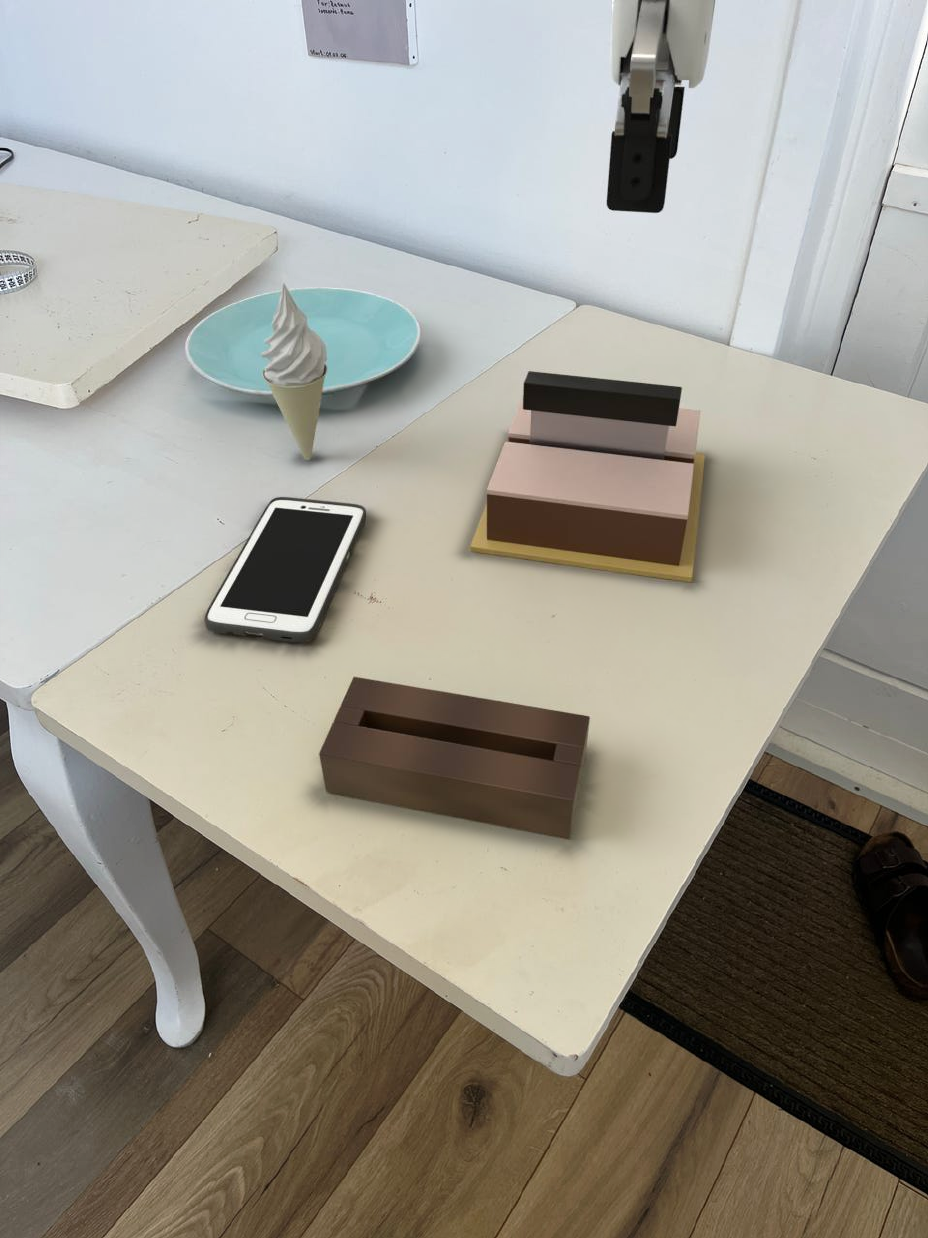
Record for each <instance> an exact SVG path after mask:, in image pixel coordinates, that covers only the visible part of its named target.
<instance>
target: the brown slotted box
mask: <svg viewBox="0 0 928 1238" xmlns="http://www.w3.org/2000/svg"><path fill="white" fill-rule="evenodd" d="M590 721H591V717H590V716H589V715H586V714H585V715H584V714H580V713H579V714H578V713H572V712H566V711H561V710H555V709H549V708H543V707H537V706H531V705H525V704H519V703H514V702H509V701H508V702H507V701H502V700H495V699H490V698H485V697H479V696H472V695H465V694H462V693H461V694H460V693H454V692H448V691H443V690H436V689H430V688H425V687H420V686H419V687H418V686H413V685H407V684H400V683H395V682H389V681H383V680H377V679H371V678H365V677H359V676H353V677H352V679H351V682H350V684H349V686H348V687H347V690H346V693H345V695H344V697H343V699H342V702H341V704H340V706H339V708H338V710H337V712H336V714H335V717H334V719H333V722H332V723H331V726H330V728H329V730H328V732H327V734H326V737H325V739H324V742H323V744H322V746H321V748H320V750H319V752H318V756H319V761H320V768H321V773H322V777H323V783H324V788H325V792H326V794H327V793H328V794H333V795H337V796H343V797H348V798H353V799H359V800H363V801H364V800H365V801H369V802H375V803H380V804H384V805H385V804H386V805H390V806H395V807H399V808H405V809H411V810H416V811H421V812H426V813H432V814H437V815H441V816H447V817H452V818H457V819H462V820H467V821H473V822H477V823H483V824H487V825H488V824H489V825H494V826H497V827H498V826H499V827H503V828H504V827H505V828H510V829H514V830H518V831H519V830H520V831H524V832H529V833H535V834H540V835H545V836H551V837H556V838H559V839H560V838H561V839H566V840H570V839H571V836H572V830H573V825H574V820H575V814H576V810H577V804H578V800H579V799H578V798H579V793H580V788H581V782H582V776H583V772H584V766H585V761H586V757H587V747H588V739H589V730H590V723H591V722H590Z"/></svg>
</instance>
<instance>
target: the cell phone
mask: <svg viewBox="0 0 928 1238" xmlns="http://www.w3.org/2000/svg"><path fill="white" fill-rule="evenodd" d="M366 520H367V511H366V508H365V506H363V505H361V504H357V503H350V502H341V501H331V500H320V499H311V498H300V497H292V496H277V497H273V498H272V499H271V500H270V501H268V504H267V505H266V506H265V508H264V510H263V511H262V513H261V515H260V517H259V519H258V520H257V522H256V524H255V525H254V527H253V529H252V531H251V532H250V534H249V536H248V538H247V540H246V541H245V543H244V545H243V546H242V547H241V550H240V552H239V553H238V554H237V557H236V559H235V560H234V562H233V564H232V565H231V568H230V569H229V570H228V573H227V574H226V576H225V578H224V580H223V581H222V583H221V585H220V587H219V588H218V590H217V592H216V593H215V595H214V597H213V599H212V601H211V602H210V604H209V606H208V607H207V610H206V612H205V615H204V618H203V620H204V625H205V628H206V629H207V630H209V631H211V632H213V633H218V634H226V635H228V634H233V635H234V636H243V637H247V636H248V635H249V636H256V637H263V639H266V640H272V641H273V640H274V641H281V642H290V643H307V642H310V641H312V640H313V639H314V638H315V636H316V634H317V633H318V631H319V630H320V627H321V625H322V622H323V621H324V619H325V615H326V613H327V610H328V608H329V606H330V604H331V602H332V600H333V597H334V595H335V592H336V590H337V588H338V585H339V583H340V581H341V579H342V577H343V574H344V572H345V570H346V567H347V565H348V560H349V557H350V556H351V555H352V554H353V551H354V550H355V547H356V544H357V542H358V540H359V537H360V535H361V533H362V530H363V528H364V526H365V524H366Z"/></svg>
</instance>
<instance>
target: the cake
mask: <svg viewBox="0 0 928 1238" xmlns="http://www.w3.org/2000/svg"><path fill="white" fill-rule="evenodd" d="M700 417H701V410H699V409H691V408H690V409H689V408H680V407H679V411H678V418H677V424H676V426H669V429H668V436H667V442H666V449H665V455H664V460H658V459H649V458H641V457H632V456H624V455H615V454H607V453H598V452H590V451H581V450H573V449H564V448H556V447H547V446H539V445H530V427H531V410H523V396H522V397H521V399H520V402H519V405H518V407H517V410H516V413H515V415H514V418H513V420H512V423H511V425H510V427H509V431H508V433H507V434H508V439H507V440H508V441H504V444H503V446H502V449H501V451H500V454H499V456H498V459H497V461H496V464H495V467H494V469H493V472H492V474H491V477H490V480H489V483H488V485H487V488H486V504H485V506H484V510H483V512H482V515H481V518H480V520H479V522H478V525H477V528H476V530H475V533H474V535H473V538H472V541H471V543H470V549H469V551H470V552H471V553H478V554H479V553H480V554H486V555H493V556H501V557H507V558H515V559H521V560H527V561H528V560H529V561H534V562H535V561H536V562H543V563H549V564H556V565H557V564H558V565H564V566H571V567H572V566H573V567H579V568H586V569H593V570H600V571H608V572H613V573H622V574H628V575H635V576H643V577H651V578H657V579H664V580H670V581H671V580H672V581H678V582H685V583H692V581H693V577H694V576H693V574H694V564H695V556H696V546H697V537H698V526H699V517H700V507H701V496H702V486H703V478H704V467H705V459H706V454H705V453H699V452H696V451H697V443H698V435H699V426H700Z"/></svg>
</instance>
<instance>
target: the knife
mask: <svg viewBox="0 0 928 1238" xmlns="http://www.w3.org/2000/svg"><path fill="white" fill-rule="evenodd" d="M522 388H523V390H522V391H523V392H522V397H523V410H531V427H530V445H539V446H547V447H556V448H564V449H573V450H581V451H590V452H598V453H607V454H615V455H624V456H632V457H641V458H649V459H658V460H664V455H665V449H666V442H667V436H668V429H669V426H676V424H677V418H678V411H679V408H680V404H681V398H682V391H683V387H682V386H678V385H677V386H676V385H667V384H657V383H647V382H638V381H628V380H619V379H610V378H599V377H589V376H580V375H570V374H563V373H561V374H560V373H551V372H543V371H542V372H541V371H532V370H528V371H527V374H526V376H525V379H524V381H523V386H522Z"/></svg>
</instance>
